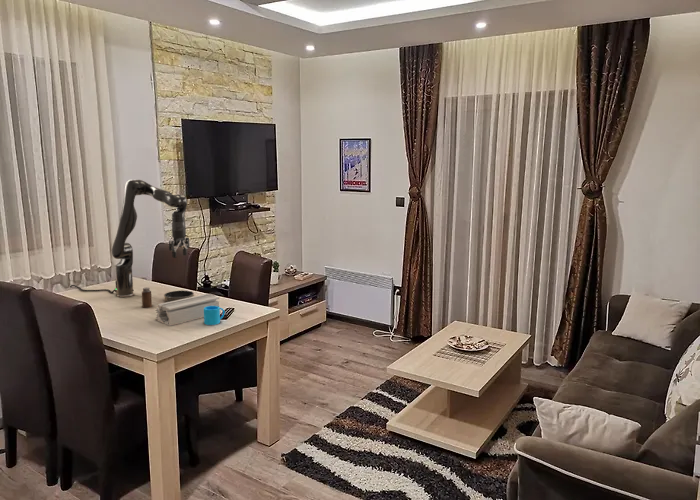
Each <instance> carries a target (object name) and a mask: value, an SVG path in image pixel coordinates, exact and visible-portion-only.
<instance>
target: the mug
mask: <svg viewBox="0 0 700 500" xmlns="http://www.w3.org/2000/svg"><path fill="white" fill-rule="evenodd" d="M221 311H222V314H221ZM225 313H226V312H225V309H224V308H222V307H220V305H219V306H207V307H204V317H203V324H204V325H206V326H215V325H219V324H220V323H221V320H222V319H223V318H224V316H225Z"/></svg>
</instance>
